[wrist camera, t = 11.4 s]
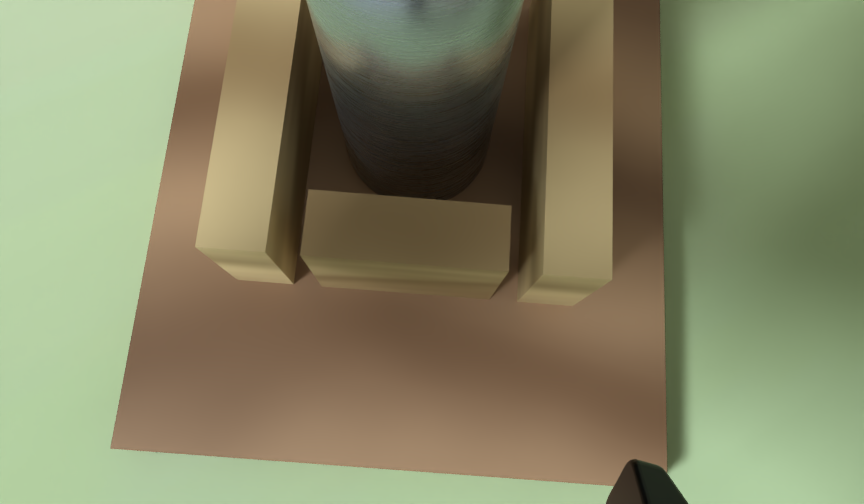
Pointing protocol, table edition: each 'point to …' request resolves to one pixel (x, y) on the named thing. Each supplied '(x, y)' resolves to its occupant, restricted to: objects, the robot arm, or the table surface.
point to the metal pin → (416, 87)
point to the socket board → (408, 264)
